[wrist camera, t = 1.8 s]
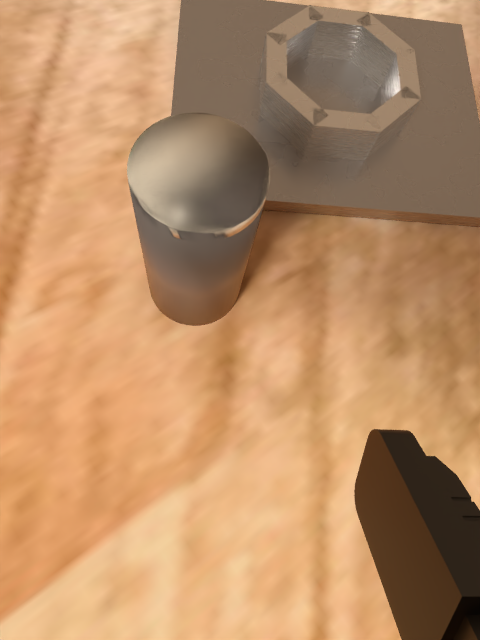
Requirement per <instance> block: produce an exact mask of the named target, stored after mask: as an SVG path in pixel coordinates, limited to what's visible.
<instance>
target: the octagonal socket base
mask: <svg viewBox="0 0 480 640" xmlns="http://www.w3.org/2000/svg"><path fill="white" fill-rule="evenodd" d="M183 113H207V114H213V115H217V116H221V117H223V118H226V119H229V120H231V121H233V122H235V123H237V124H238V125H240V126H241V127H243V128H244V129H246V130H247V131H248V132H249V133H250V134H251V135H252V136H253V137H254V138H255V139H256V140H257V141H258V143H259V144H260V145H261V147H262V149H263V150H264V152H265V154H266V157H267V160H268V163H269V168H270V185H269V189H268V193H267V196H266V200H265V203H264V207H263V210H273V211H286V212H298V213H311V214H323V215H336V216H349V217H361V218H374V219H387V220H399V221H412V222H425V223H437V224H450V225H463V226H475V227H480V123H479V118H478V112H477V107H476V101H475V96H474V90H473V85H472V79H471V74H470V68H469V63H468V57H467V52H466V46H465V41H464V35H463V30H462V25H461V24H453V23H444V22H436V21H428V20H420V19H412V18H404V17H396V16H388V15H380V14H372V13H369V12H359V11H351V10H343V9H335V8H327V7H319V6H311V5H309V6H307V5H299V4H291V3H283V2H275V1H266V0H181V9H180V20H179V32H178V43H177V55H176V66H175V78H174V90H173V101H172V113H171V116H173V115H177V114H183Z"/></svg>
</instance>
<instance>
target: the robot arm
mask: <svg viewBox="0 0 480 640" xmlns="http://www.w3.org/2000/svg"><path fill="white" fill-rule="evenodd" d="M355 505H356V510H357V514H358V517H359V520H360V523H361V525H362V528H363V531H364V534H365V537H366V540H367V542H368V545H369V548H370V551H371V554H372V557H373V559H374V562H375V565H376V568H377V571H378V574H379V576H380V579H381V582H382V585H383V588H384V591H385V593H386V596H387V599H388V602H389V605H390V608H391V610H392V613H393V616H394V619H395V622H396V625H397V627H398V630H399V633H400V636H401V639H402V640H480V510H479V509H478V507H477V506H476V504H475V503H474V502H472V501H471V496H470V495H469V493H468V492H467V490H466V489H465V487H464V486H463V484H462V483H461V481H460V479H459V478H458V476H457V475H456V474H455V473H454V472H452V471H451V470H450V469H449V468H448V467H447V466H446V465H445V464H443V463H442V462H441V461H440V460H439V459H438V458H437V457H435V456H426V455H425V453H424V452H423V450H422V448H421V447H420V445H419V443H418V442H417V440H416V438H415V436H414V435H413V434H412V433H411V432H410V431H407V430H380V429H374V430H372V431H371V432H370V434H369V436H368V439H367V443H366V446H365V450H364V453H363V457H362V461H361V464H360V468H359V471H358V475H357V479H356V483H355Z"/></svg>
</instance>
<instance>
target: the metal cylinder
mask: <svg viewBox="0 0 480 640" xmlns="http://www.w3.org/2000/svg"><path fill="white" fill-rule="evenodd" d="M127 175H128V182H129V187H130V192H131V197H132V202H133V207H134V212H135V217H136V222H137V227H138V232H139V238H140V243H141V248H142V253H143V258H144V263H145V268H146V273H147V278H148V283H149V288H150V292H151V296H152V298H153V301H154V303H155V304H156V306H157V307H158V308H159V310H160V311H161V312H162V313H163V314H164V315H166V316H167V317H168V318H170V319H172V320H174V321H176V322H178V323H181V324H185V325H192V326H197V325H205V324H209V323H212V322H215V321H217V320H219V319H220V318H222V317H223V316H225V315H226V314H227V313H228V312H229V311H230V310H231V308H232V307H233V306H234V304H235V302H236V300H237V298H238V295H239V291H240V288H241V284H242V281H243V277H244V274H245V270H246V267H247V263H248V260H249V256H250V253H251V249H252V245H253V242H254V238H255V235H256V231H257V228H258V224H259V221H260V217H261V214H262V210H263V207H264V203H265V200H266V196H267V193H268V189H269V185H270V168H269V163H268V160H267V157H266V154H265V152H264V150H263V149H262V147H261V145H260V144H259V143H258V141H257V140H256V139H255V138H254V137H253V136H252V135H251V134H250V133H249V132H248V131H247V130H246V129H244V128H243V127H241V126H240V125H238V124H237V123H235V122H233V121H231V120H229V119H226V118H223V117H221V116H217V115H213V114H207V113H183V114H177V115H173V116H170V117H167V118H165V119H162V120H160V121H158V122H156V123H155V124H153V125H152V126H150V127H149V128H148V129H146V130H145V131H144V132H143V133H142V134H141V135H140V136H139V138H138V139H137V140H136V142H135V143H134V145H133V147H132V149H131V152H130V154H129V158H128V163H127Z"/></svg>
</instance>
